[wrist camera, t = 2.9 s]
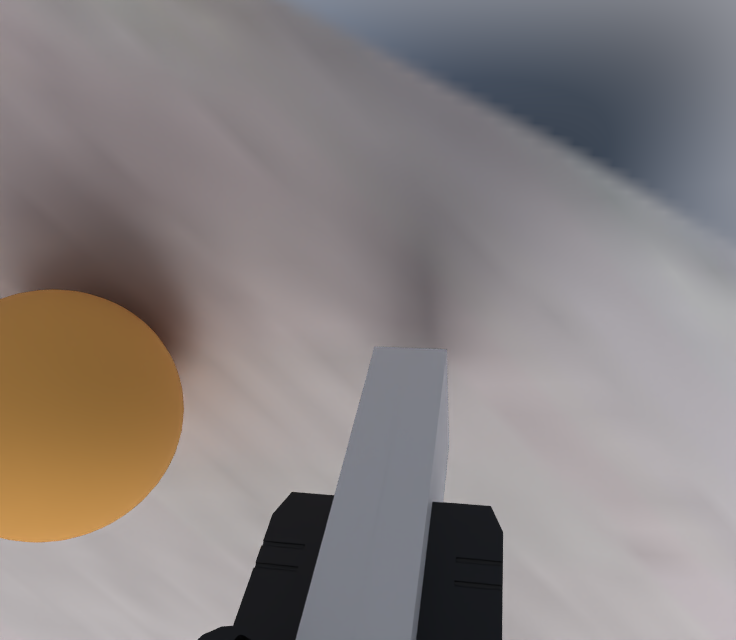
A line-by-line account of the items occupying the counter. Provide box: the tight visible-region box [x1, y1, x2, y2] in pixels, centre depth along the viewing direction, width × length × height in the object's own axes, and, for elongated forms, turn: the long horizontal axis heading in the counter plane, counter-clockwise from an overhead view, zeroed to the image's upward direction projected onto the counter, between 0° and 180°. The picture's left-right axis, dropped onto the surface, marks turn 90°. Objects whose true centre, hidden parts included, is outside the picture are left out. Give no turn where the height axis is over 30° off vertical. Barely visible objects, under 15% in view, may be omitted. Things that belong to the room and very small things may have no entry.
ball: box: [0, 289, 184, 542], centre depth 15 cm, size 6×6×6 cm
